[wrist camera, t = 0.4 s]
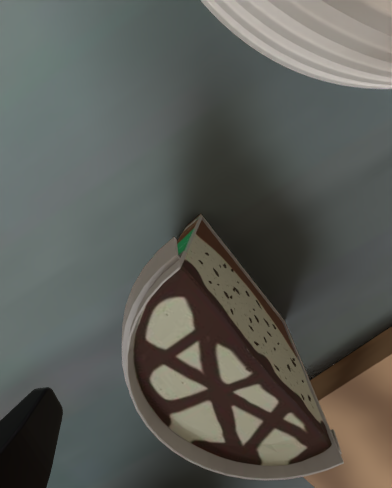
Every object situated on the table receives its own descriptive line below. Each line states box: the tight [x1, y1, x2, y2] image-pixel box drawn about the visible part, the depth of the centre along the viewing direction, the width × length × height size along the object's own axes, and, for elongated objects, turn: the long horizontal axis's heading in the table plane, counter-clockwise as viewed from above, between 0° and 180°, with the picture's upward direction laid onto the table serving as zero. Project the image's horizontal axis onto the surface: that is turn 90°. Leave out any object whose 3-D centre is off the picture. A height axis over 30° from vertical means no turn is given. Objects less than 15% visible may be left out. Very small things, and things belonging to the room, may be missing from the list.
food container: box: [122, 214, 344, 480], centre depth 19 cm, size 12×6×10 cm, turn 38°
